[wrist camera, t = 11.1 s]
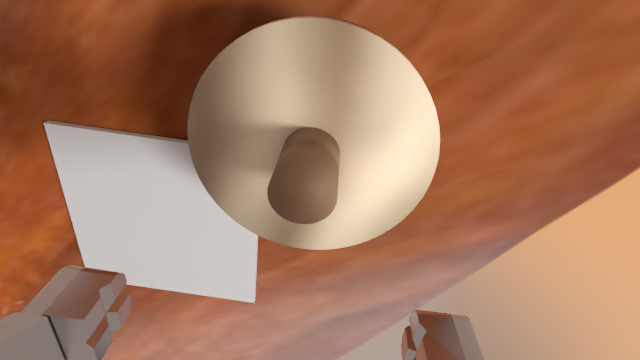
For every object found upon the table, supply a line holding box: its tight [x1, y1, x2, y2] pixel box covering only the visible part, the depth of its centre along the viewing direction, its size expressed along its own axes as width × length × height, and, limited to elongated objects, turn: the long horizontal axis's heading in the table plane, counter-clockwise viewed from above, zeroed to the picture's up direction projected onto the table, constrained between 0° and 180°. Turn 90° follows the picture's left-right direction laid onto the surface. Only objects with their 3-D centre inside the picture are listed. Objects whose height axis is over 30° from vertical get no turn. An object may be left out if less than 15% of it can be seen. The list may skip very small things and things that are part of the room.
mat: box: [44, 120, 258, 303], centre depth 31 cm, size 16×16×1 cm
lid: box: [188, 16, 440, 250], centre depth 18 cm, size 13×13×5 cm
